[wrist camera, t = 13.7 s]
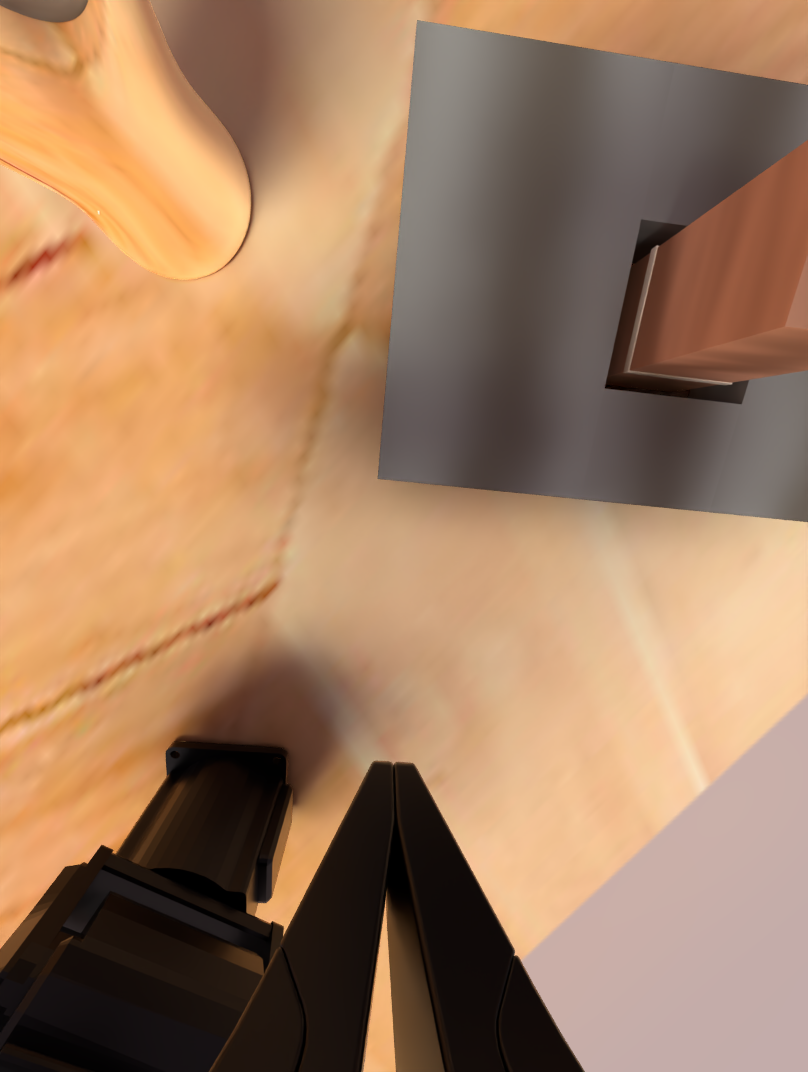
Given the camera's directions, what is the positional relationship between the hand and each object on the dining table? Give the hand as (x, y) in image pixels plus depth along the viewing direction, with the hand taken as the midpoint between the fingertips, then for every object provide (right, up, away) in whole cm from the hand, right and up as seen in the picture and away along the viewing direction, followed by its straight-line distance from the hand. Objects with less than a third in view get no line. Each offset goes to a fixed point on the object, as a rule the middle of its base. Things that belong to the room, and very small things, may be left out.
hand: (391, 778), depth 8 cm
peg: (+11, +14, +9) cm, 20 cm away
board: (+11, +14, +9) cm, 20 cm away
